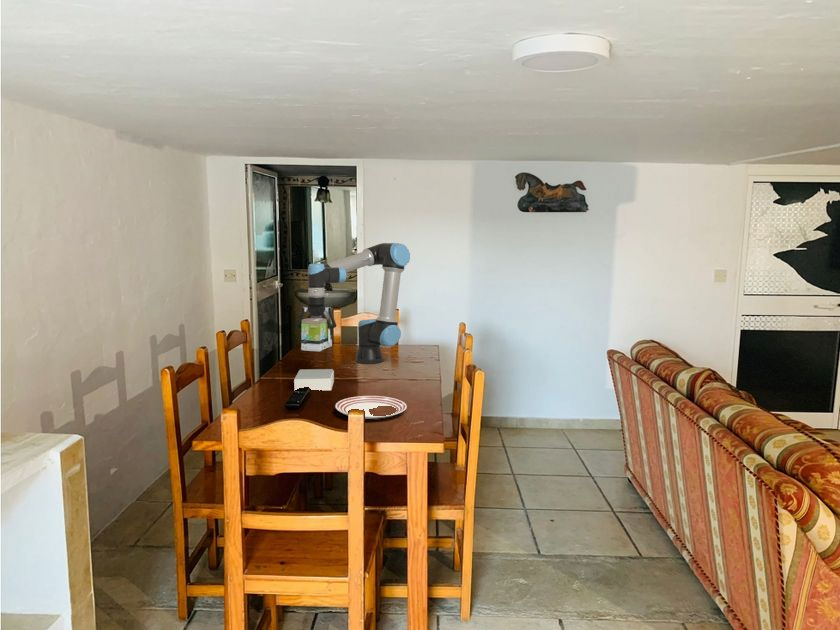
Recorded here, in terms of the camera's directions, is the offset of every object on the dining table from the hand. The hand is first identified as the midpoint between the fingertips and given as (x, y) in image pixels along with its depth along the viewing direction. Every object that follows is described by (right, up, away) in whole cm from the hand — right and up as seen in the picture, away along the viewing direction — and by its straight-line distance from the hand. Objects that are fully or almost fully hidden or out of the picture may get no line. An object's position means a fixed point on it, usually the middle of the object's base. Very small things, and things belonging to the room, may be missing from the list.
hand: (316, 342), depth 273 cm
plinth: (+1, -19, -13) cm, 23 cm away
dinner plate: (+30, -25, -52) cm, 65 cm away
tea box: (0, -3, 0) cm, 3 cm away
